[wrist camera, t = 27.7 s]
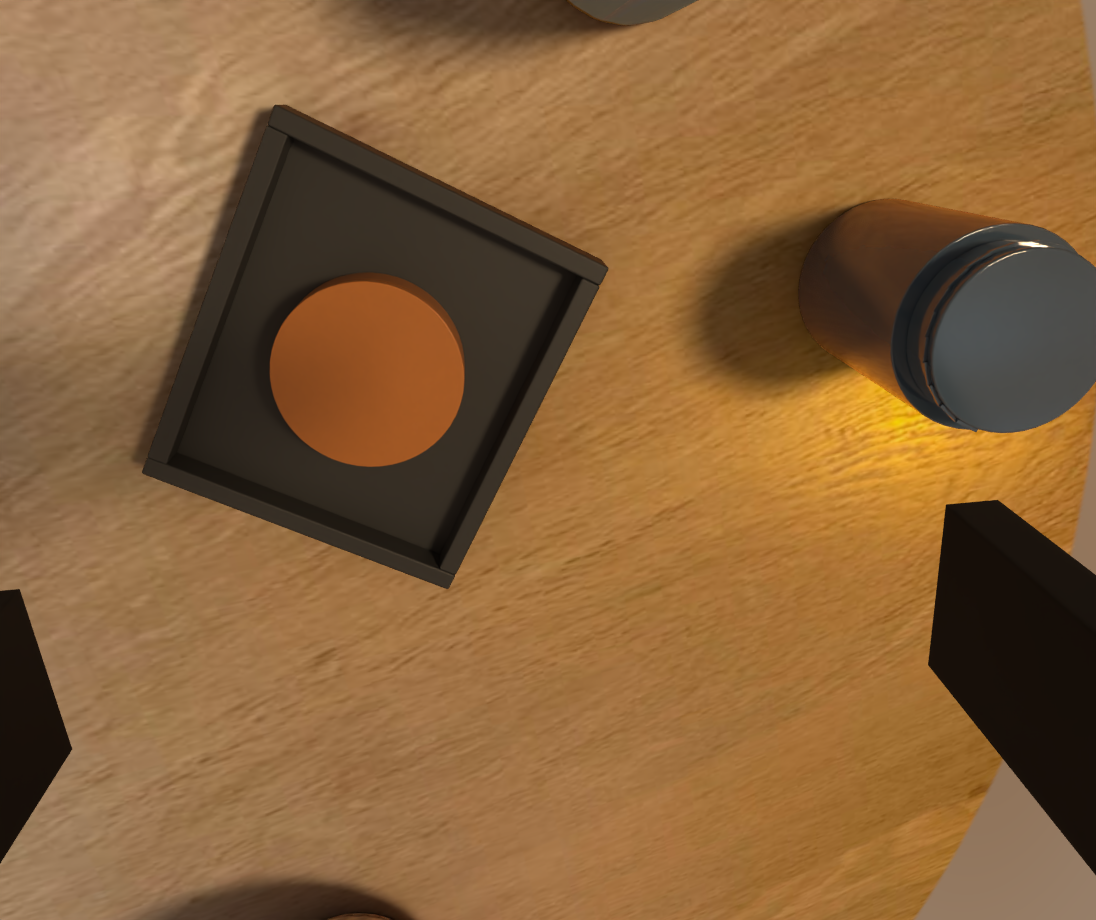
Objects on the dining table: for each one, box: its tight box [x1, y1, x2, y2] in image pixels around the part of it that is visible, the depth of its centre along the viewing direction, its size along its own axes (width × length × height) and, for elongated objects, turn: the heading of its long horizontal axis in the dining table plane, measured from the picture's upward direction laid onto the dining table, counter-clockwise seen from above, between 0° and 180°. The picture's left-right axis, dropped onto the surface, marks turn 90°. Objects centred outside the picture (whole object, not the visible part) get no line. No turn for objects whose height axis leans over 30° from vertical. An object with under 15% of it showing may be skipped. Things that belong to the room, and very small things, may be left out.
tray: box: [142, 105, 608, 589], centre depth 37 cm, size 16×14×2 cm
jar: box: [799, 199, 1096, 433], centre depth 33 cm, size 7×7×11 cm
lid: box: [270, 273, 465, 467], centre depth 36 cm, size 8×8×2 cm
